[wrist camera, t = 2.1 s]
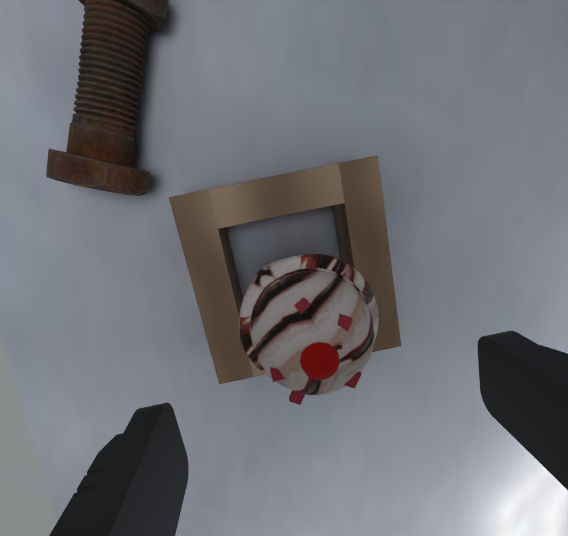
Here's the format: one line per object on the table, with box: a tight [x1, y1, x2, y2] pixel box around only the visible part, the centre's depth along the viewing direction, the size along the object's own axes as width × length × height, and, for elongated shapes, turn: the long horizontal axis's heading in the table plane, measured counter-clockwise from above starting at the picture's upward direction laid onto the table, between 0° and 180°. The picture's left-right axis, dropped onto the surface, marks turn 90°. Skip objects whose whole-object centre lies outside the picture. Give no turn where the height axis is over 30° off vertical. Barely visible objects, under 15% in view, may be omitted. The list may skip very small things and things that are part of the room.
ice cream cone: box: [239, 254, 379, 404], centre depth 18 cm, size 6×6×15 cm
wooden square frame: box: [169, 156, 401, 384], centre depth 23 cm, size 12×12×4 cm
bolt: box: [46, 0, 168, 196], centre depth 20 cm, size 6×5×15 cm
